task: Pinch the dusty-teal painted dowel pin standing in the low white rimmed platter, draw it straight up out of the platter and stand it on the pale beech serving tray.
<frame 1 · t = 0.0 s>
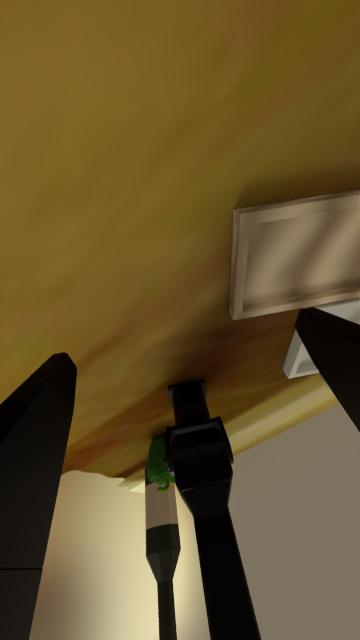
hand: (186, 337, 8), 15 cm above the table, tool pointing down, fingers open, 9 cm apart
white rimmed platter: (337, 331, 33), on the table
bell pepper: (165, 438, 49), on the table
wine bottle: (158, 467, 61), on the table
tray: (308, 255, 23), on the table
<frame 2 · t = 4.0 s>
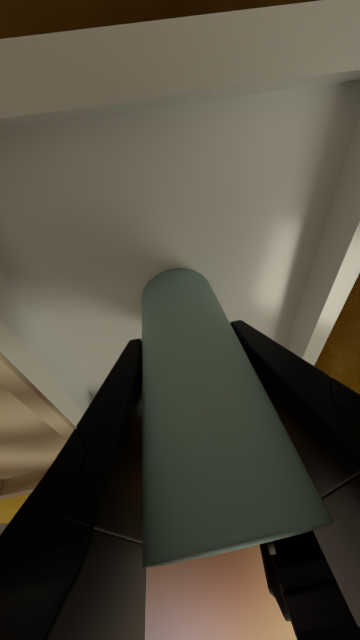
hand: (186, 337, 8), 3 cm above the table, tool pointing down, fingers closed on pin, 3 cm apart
white rimmed platter: (176, 295, 10), on the table
pin: (177, 301, 10), resting on white rimmed platter, touching gripper
tray: (7, 428, 15), on the table
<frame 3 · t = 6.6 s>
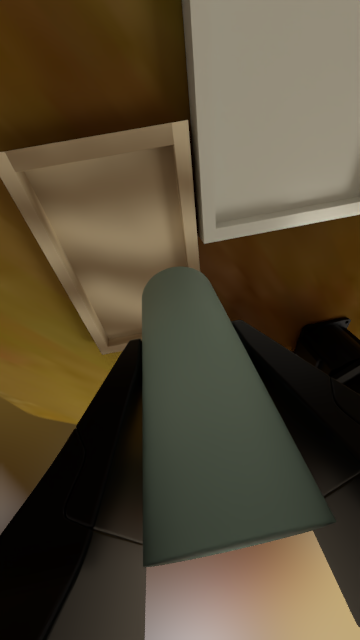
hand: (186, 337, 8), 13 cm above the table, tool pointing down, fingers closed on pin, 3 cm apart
white rimmed platter: (299, 103, 14), on the table
pin: (178, 300, 10), point 11 cm above the table, touching gripper
tray: (132, 265, 19), on the table
when the fingers open (4 cm above the table, at t = 9.3 s): pin drops 1 cm, resting on tray.
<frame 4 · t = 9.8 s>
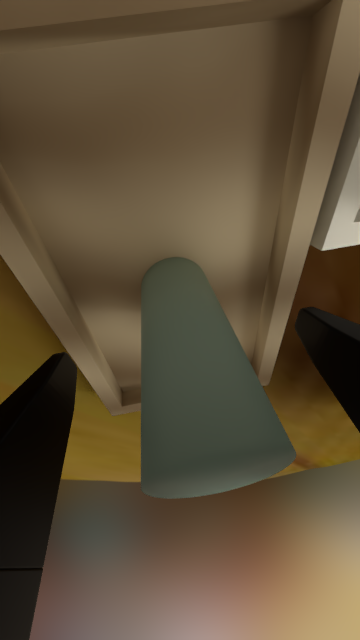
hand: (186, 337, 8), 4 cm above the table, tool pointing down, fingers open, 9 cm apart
pin: (174, 288, 11), point 1 cm above the table, touching tray
tray: (172, 284, 11), on the table
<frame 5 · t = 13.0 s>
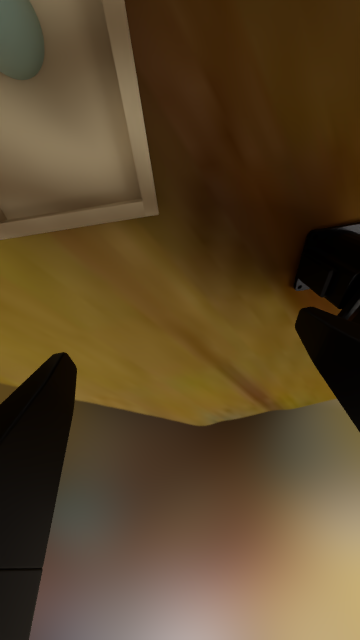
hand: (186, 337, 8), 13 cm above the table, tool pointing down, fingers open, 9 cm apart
pin: (5, 28, 10), point 1 cm above the table, touching tray
tray: (11, 35, 11), on the table
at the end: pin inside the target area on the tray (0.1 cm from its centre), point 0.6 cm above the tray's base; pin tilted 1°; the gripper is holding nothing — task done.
